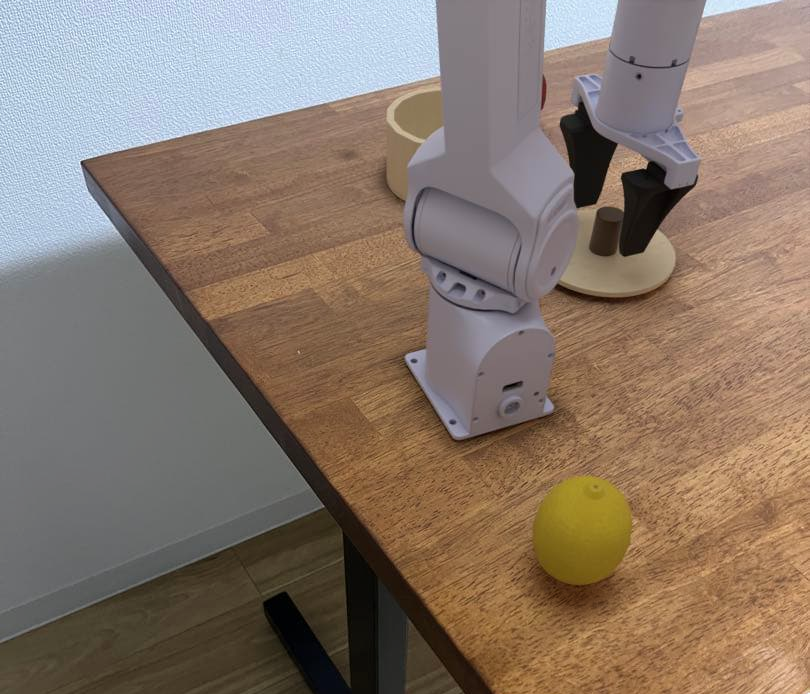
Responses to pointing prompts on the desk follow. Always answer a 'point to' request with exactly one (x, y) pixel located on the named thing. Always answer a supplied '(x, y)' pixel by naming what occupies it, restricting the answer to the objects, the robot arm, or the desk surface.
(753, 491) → the desk surface
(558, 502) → the lemon
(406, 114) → the pot
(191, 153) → the desk surface
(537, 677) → the desk surface
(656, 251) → the lid
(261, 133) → the desk surface
